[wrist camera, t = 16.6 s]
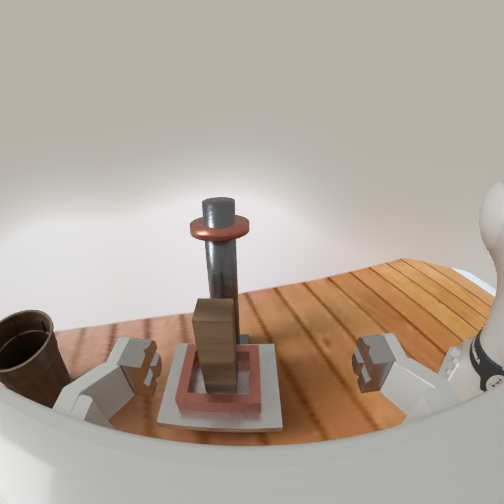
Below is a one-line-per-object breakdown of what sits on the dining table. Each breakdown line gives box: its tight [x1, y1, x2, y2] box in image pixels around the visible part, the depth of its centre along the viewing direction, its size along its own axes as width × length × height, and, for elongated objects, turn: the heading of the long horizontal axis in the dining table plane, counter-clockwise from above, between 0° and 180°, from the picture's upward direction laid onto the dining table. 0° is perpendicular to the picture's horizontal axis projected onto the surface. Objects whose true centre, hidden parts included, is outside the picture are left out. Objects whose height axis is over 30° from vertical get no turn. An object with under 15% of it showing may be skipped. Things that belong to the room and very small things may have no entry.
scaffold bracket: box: [157, 197, 283, 433], centre depth 38 cm, size 26×17×30 cm, turn 1°
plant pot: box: [0, 310, 73, 409], centre depth 31 cm, size 16×16×16 cm
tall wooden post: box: [192, 299, 238, 393], centre depth 35 cm, size 4×4×14 cm
